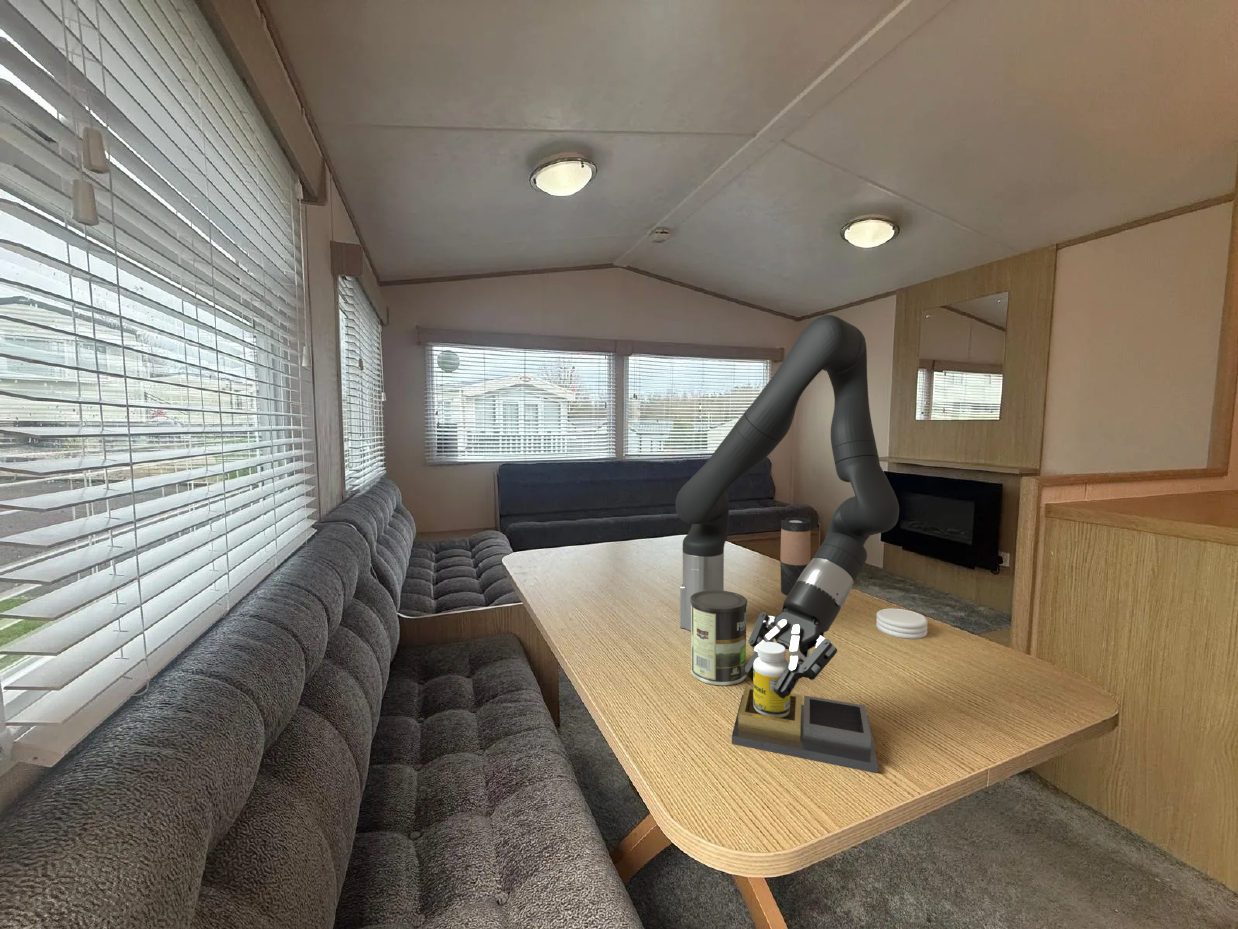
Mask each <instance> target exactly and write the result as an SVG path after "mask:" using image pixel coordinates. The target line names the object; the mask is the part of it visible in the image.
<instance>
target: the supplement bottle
mask: <svg viewBox="0 0 1238 929" xmlns="http://www.w3.org/2000/svg"><path fill="white" fill-rule="evenodd" d="M758 656H759V657H757V658H756V659H755V661H754V663H753V681H752V687H753V705H754V708H755V710H756V711H757V712H758V713H759V714H761V715H765V716H770V717H776V718H781V717H785V716H787V715H788V714H789V712H790V695H788V696H786V697H785V698H784V699H782V698H781V697H779V696H778V695H777V694H776V693H775V692H774V687H775V685H776V684H777V682H778V680H779V679H780V677H781V675H782V674H783V672H784V670H785V669H789V668H788V666H789V661H788V660H786V649H785V647H784V646H783V645H781V644H779V643H777V642H776V641H773V642H763V643H760V644H759V645H758Z"/></svg>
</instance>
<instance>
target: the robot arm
mask: <svg viewBox="0 0 1238 929" xmlns="http://www.w3.org/2000/svg"><path fill="white" fill-rule="evenodd" d="M866 341H867V340H866V337H865V335H864V334H863V332H862V331H861V330H860V329H859V328H858V327H857V326H855V325H853V324H851V323H849V322H848V321H846V320H844V319H842V318H840V317H838V316H836V315H832V314H824V315H821V316H817V317H816V318H815V319H813V320H812V321H810V323H809V324H807V326H805V328H804V329H803V330H802V331H801V333H800V335H799V336H798V337H797V338H796V339H795V342H794V343H793V345H792V346H791V347H790V350H789V352H788V353H787V355H786V356H785V358H784V360H782V362H781V364H780V366H779V367H778V368H777V370H776V371H775V373H774V374H773V375H772V377H771V378H770V380H769V381H768V382H767V384H766V385H765V386H764V387H763V389H762V390H761V391H760V393H759V394H758V396H757V397H756V398H755V399H754V401H753V402H752V403H751V404H750V405H749V406H748V408H747V409H746V410H745V411H744V412H743V414H742V415H741V417H739V418H738V420H737V422H735V424H734V426H732V428H731V430H730V431H729V432H728V434H726V436H725V437H724V439H723V440H722V442H721V443H719V445H718V446H717V447H716V449H715V450H714V452H713V453H712V454H711V456H710V457H709V458H708V460H707V461H706V462H705V464H704V465H702V467H701V468H699V470H698V471H697V472H696V473H695V474H694V475H692V477H691V478H690V479H689V480H688V481H686V483H685V484H684V485H683V486H682V487H681V488H680V490H678V492H677V495H676V498H675V511H676V514H677V516H678V518H679V519H680V520H682V521H683V522H684V523H687V524H690V525H691V527H690V529H689V531H688V533H687V534H686V536H685V537H684V538H683V539H682V584H681V585H680V588H679V589H680V590H679V594H680V595H679V596H680V597H679V598H680V599H679V603H680V604H679V605H680V606H679V607H680V608H679V610H680V611H679V612H680V613H679V614H680V615H679V618H680V620H679V628H682V629H686V630H687V631H690V632H691V602H690V597H691V596H692V595H693V594H695V593H697V592H701V591H709V590H721V591H725V590H724V589H725V588H724V586H725V585H724V584H725V583H724V582H725V580H724V579H725V578H724V574H725V567H724V566H725V559H724V558H725V544H726V542H727V538H728V534H729V531H728V530H729V514H730V513H729V512H730V502H729V497H728V492H727V490H728V489H729V488H730V487H731V486H732V485H733V484H734V483H735V482H736V481H737V480H739V479H740V478H741V477H743V476H744V475H745V474H747V473H749V472H750V471H751V470H752V469H754V468H755V467H756V466H758V465H759V464H760V463H762V462H763V461H764V460H765V459H766V458H767V457H768V456H769V455H770V454H771V453H772V452H774V450H775V449H776V448H777V446H778V445H779V444H780V443H781V442H782V441H783V439H784V438H785V437H786V436H787V434H788V432H789V431H790V429H791V426H792V424H793V421H794V417H795V414H796V410H797V406H798V403H799V401H800V399H801V397H802V395H803V393H804V391H805V390H806V389H807V387H808V386H809V385H810V384H811V382H813V380H814V379H815V378H816V377H817V375H819V374H820V372H822V371H824V372H827V375H828V378H829V381H830V383H831V386H832V391H833V398H834V406H833V414H832V418H831V424H830V425H831V426H830V443H831V444H830V446H831V452H832V456H833V461H834V462H833V463H834V467H835V471H836V474H837V477H838V479H839V480H841V481H842V482H845V483H850V485H851V488H852V489H853V492H854V496H851V497H849V498H847V499H846V500H844V501H843V502H842V503H841V504H840V505H839V506H838V507H837V509H836V510H835V512H834V514H833V516H832V518H831V521H830V523H829V526H828V529H827V532H826V536H825V539H824V540H823V542H822V543H821V544H820V546H819V548H818V550H817V551H816V553H815V554H814V556H813V558H812V559H810V563H809V564H808V565H807V566H806V568H805V569H804V570H803V572H802V573H801V575H800V577H799V578H798V580H797V581H796V583H795V585H794V586H793V588H792V589H791V591H790V593H789V594H788V596H787V595H786V597H785V599H784V601H783V604H782V605H783V606H782V610H781V611H780V612H779V613H778V614H776V615H775V616H773V615H768V614H767V613H766V612H765V611H761V612H760V613H759V615H758V617H757V620H756V622H755V624H754V627H753V630H751V633H750V636H749V639H748V645H749V646H750V647H751V648H752V650H753V654H752V655H751V657H750V658H749V660H748V662H747V663H746V666H745V672H744V674H745V675H746V678H748V680H751V681H752V682H753V663H754V661H755V659H756V658H757V657H759V656H758V645H759V644H760V643H763V642H775V643H779V644H781V645H783V646H784V647H785V650H788V652H789V661H788V663H789V666H788V668H789V669H785V670H784V672H783V674H782V675H781V677H780V679H779V680H778V682H777V684H776V685H775V687H774V692H775V693H776V694H777V695H778V696H779V697H781V698H782V699H784V698H785V697H786V696H788V695H790V693H793V690H794V688H795V686H796V685H797V682H798V681H799V680H800V679H802V678H807V679H809V680H810V681H813V680H815V679H816V678H817V677H818V676H819V674H820V673H821V672H822V671H823V669H824V668H826V666H828V664H829V663H830V661H831V660H832V659H833V658H834V657H835V656H836V654H837V653H838V649H837V647H836V646H835V645H834V643H833V642H832V641H831V640H830V639H829V638H825V636H824V634H825V633H826V632H828V631H829V630H830V628H831V626H832V625H833V623H834V621H835V619H836V618H837V616H838V614H839V613H840V611H841V609H842V607H843V606H844V604H845V603H846V600H847V599H848V596H849V594H850V592H851V590H852V588H853V585H854V583H855V581H856V580H857V578H858V577H859V575H860V573H861V571H862V569H863V568H864V566H865V564H866V561H867V558H868V551H867V549H866V548H865V543H866V542H867V540H868V539H869V538H870V536H873V535H876V534H877V535H879V534H881V533H882V534H883V533H885V532H888V531H890V530H892V529H893V528H894V527H895V526H896V525H897V523H898V521H899V517H900V516H899V515H900V504H899V501H898V498H897V495H896V493H895V490H894V489H893V487H892V486H891V483H890V481H889V479H888V477H887V475H886V474H885V472H884V470H883V468H882V465H881V464H880V458H879V452H878V447H877V442H876V439H875V434H874V429H873V422H872V418H871V417H872V416H871V410H870V409H871V408H870V400H869V385H868V351H867V342H866ZM774 640H775V641H774ZM812 648H814V650H813V651H812V652H811V649H812ZM810 652H811V653H810Z"/></svg>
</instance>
